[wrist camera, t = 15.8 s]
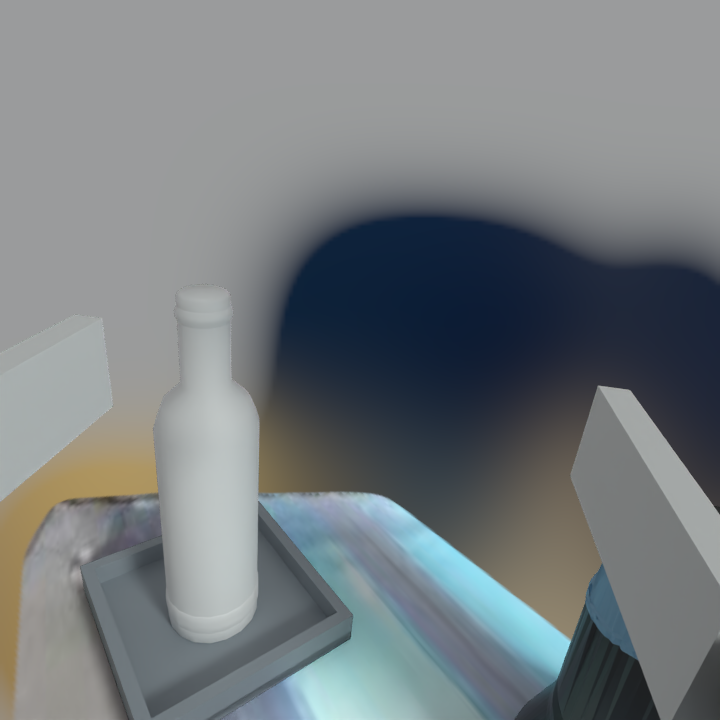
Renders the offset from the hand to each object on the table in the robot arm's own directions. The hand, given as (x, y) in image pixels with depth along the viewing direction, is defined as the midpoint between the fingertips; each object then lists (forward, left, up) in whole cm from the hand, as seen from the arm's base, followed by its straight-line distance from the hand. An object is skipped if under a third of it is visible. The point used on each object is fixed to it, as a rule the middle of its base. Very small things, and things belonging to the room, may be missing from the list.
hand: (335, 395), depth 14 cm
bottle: (-6, -23, -35) cm, 42 cm away
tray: (-6, -23, -36) cm, 43 cm away
